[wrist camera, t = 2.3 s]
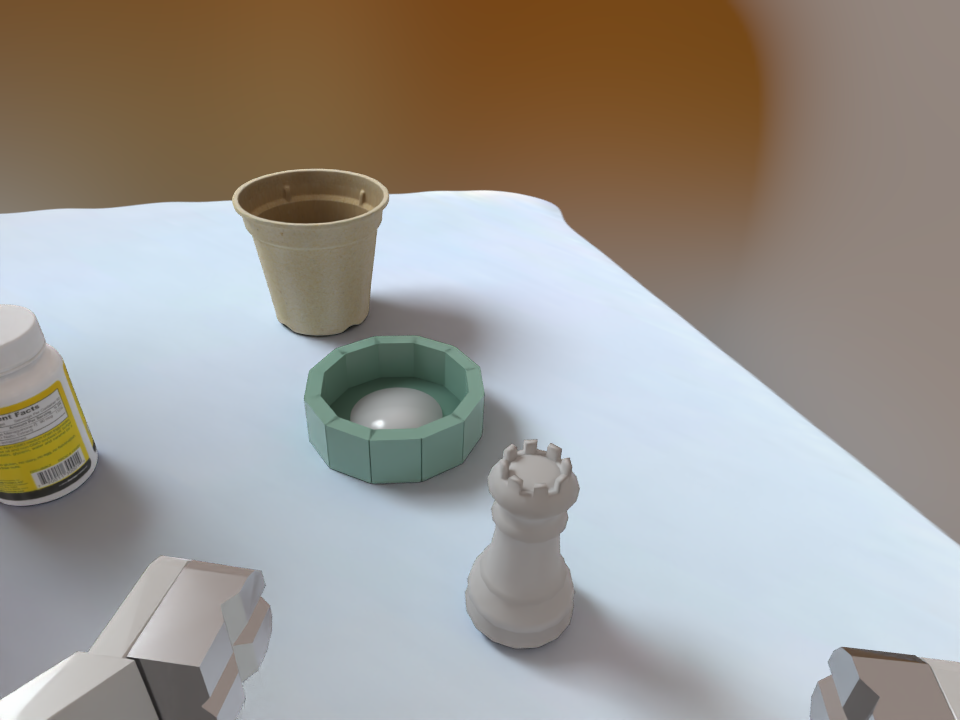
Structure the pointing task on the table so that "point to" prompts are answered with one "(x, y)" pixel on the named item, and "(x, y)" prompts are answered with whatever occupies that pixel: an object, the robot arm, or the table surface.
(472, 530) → the table surface
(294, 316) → the flower pot
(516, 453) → the rook chess piece
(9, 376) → the supplement bottle
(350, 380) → the bowl
